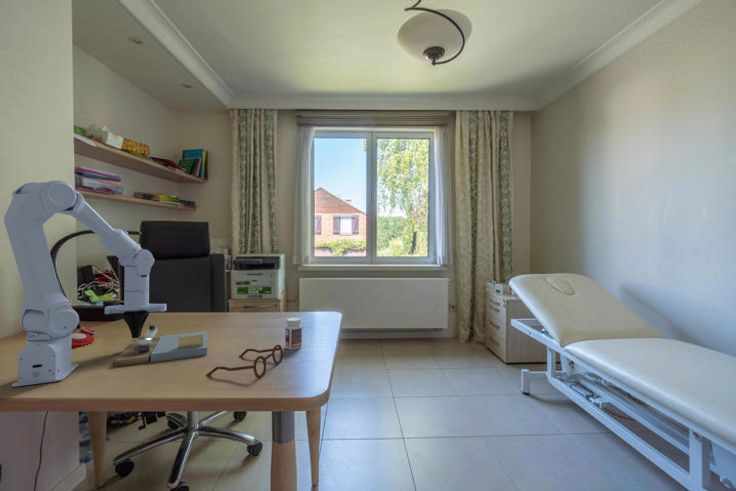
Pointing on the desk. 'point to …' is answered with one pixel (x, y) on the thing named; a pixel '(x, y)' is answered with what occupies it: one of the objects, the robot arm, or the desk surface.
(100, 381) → the desk surface
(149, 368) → the desk surface
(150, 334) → the bar
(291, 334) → the pill bottle
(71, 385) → the desk surface
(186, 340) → the brass keeper
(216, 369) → the glasses
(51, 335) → the robot arm
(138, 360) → the jamb board
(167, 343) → the door panel
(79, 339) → the tracker holder
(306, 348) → the desk surface
